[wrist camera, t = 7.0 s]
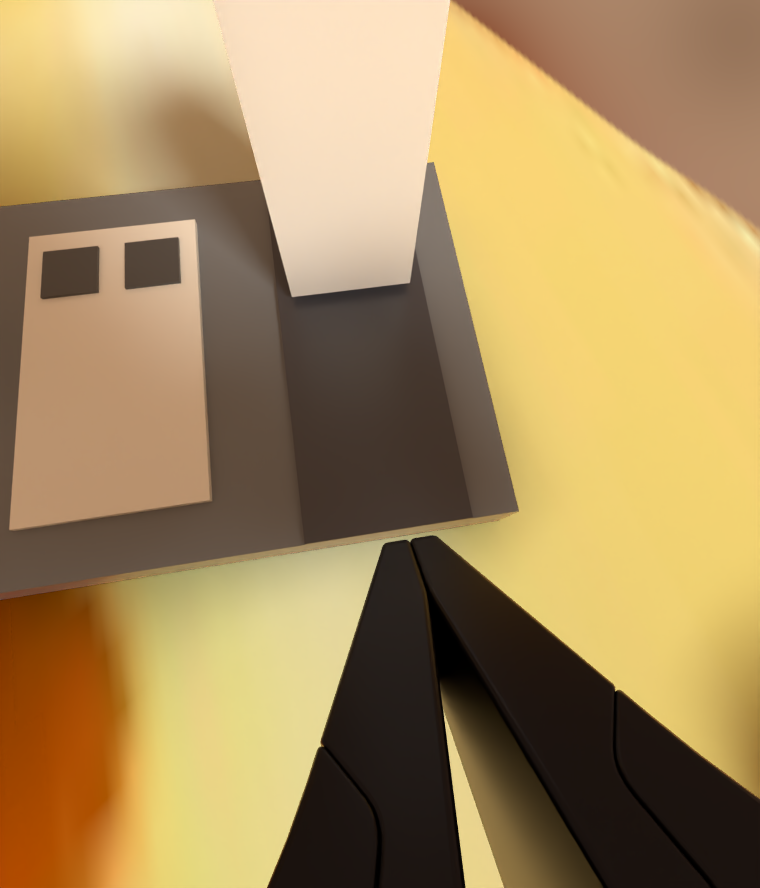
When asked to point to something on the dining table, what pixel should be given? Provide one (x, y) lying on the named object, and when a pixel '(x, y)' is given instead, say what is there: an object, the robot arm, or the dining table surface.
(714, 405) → the dining table surface
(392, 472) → the switch bank
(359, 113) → the tab offwhite
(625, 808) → the robot arm
